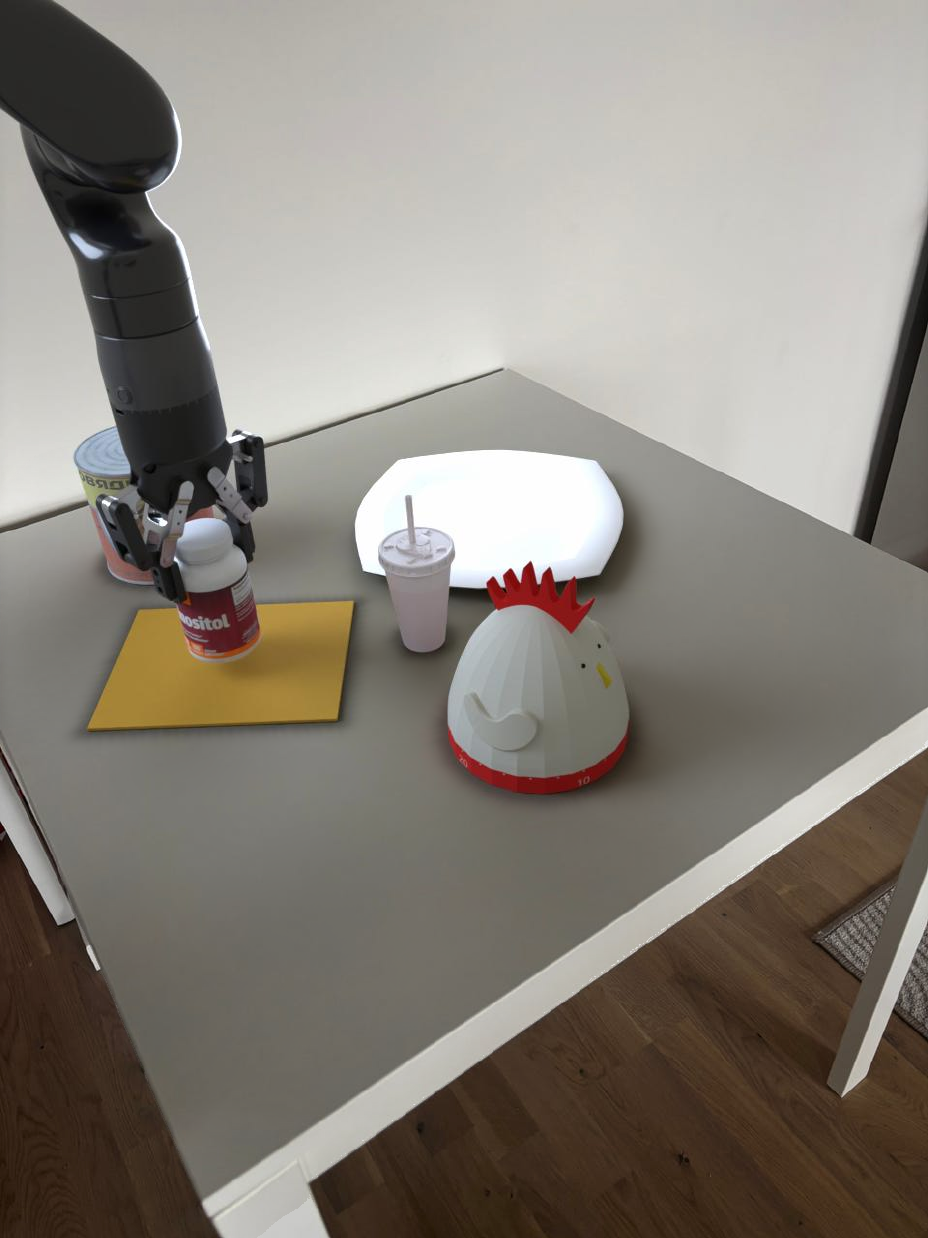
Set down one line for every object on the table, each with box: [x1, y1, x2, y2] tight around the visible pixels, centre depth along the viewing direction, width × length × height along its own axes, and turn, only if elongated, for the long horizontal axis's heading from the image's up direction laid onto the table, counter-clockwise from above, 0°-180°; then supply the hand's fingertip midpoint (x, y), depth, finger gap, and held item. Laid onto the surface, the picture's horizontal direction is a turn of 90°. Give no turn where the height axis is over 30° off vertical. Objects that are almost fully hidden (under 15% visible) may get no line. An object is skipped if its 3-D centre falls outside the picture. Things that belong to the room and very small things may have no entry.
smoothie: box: [378, 495, 456, 653], centre depth 81 cm, size 6×6×14 cm
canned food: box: [72, 425, 215, 586], centre depth 95 cm, size 11×11×12 cm
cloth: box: [86, 600, 355, 732], centre depth 83 cm, size 20×16×1 cm
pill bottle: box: [174, 517, 261, 663], centre depth 79 cm, size 6×6×11 cm
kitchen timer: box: [447, 561, 630, 795], centre depth 71 cm, size 14×14×15 cm
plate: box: [354, 449, 625, 591], centre depth 99 cm, size 27×27×2 cm
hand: (209, 578), depth 78 cm, fingers closed on pill bottle, 6 cm apart
